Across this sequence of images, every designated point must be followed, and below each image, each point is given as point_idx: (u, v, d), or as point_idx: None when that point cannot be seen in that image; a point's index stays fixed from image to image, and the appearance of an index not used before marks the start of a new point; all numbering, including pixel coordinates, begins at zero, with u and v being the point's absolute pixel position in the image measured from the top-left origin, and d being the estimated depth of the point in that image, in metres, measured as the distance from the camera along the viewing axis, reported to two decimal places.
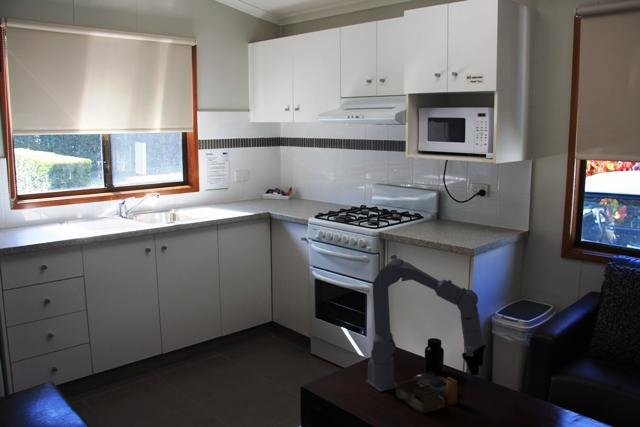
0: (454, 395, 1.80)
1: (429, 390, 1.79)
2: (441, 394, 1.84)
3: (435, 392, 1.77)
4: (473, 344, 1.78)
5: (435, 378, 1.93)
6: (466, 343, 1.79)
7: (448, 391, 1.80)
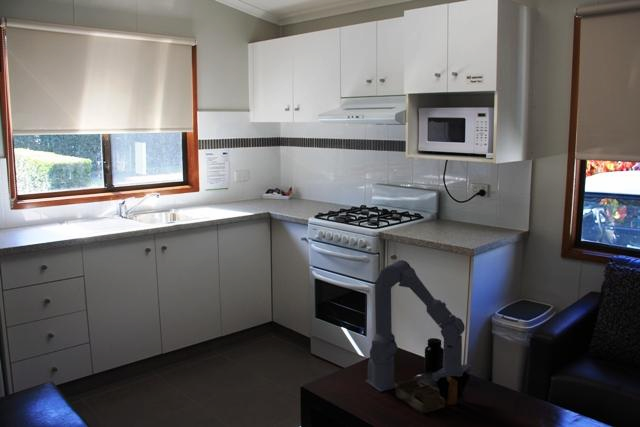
0: (454, 395, 1.80)
1: (429, 390, 1.79)
2: None
3: (435, 392, 1.77)
4: (446, 371, 1.79)
5: None
6: (443, 368, 1.81)
7: (448, 391, 1.80)
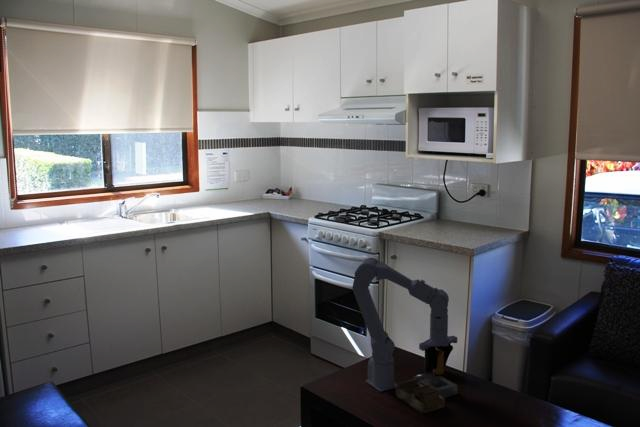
0: (440, 365, 1.86)
1: (429, 390, 1.79)
2: (441, 394, 1.84)
3: (435, 392, 1.77)
4: (433, 341, 1.85)
5: (435, 378, 1.93)
6: (430, 338, 1.87)
7: None
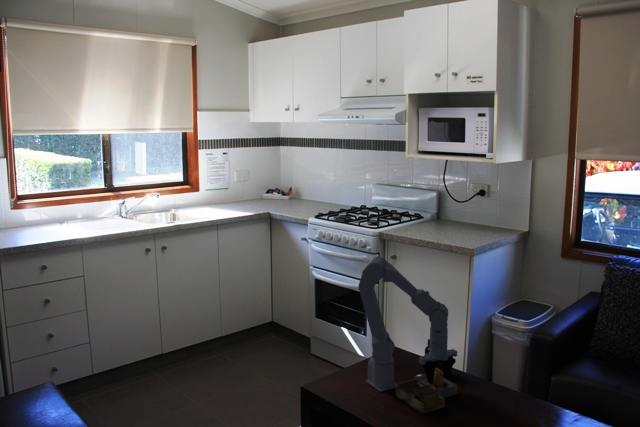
0: (440, 385, 1.87)
1: (429, 390, 1.79)
2: (441, 394, 1.84)
3: (435, 392, 1.77)
4: (432, 355, 1.86)
5: None
6: (429, 352, 1.88)
7: (434, 381, 1.88)
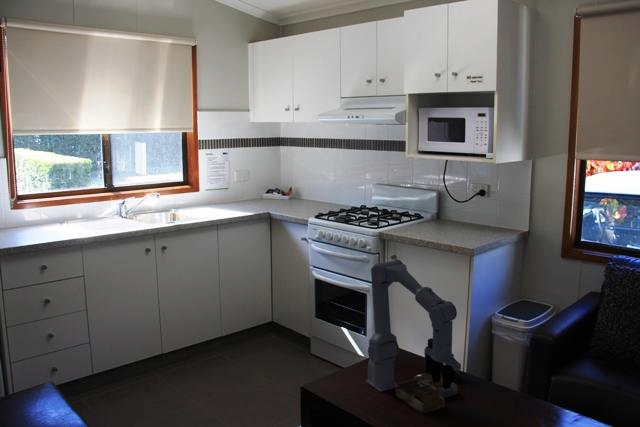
0: (440, 385, 1.87)
1: (429, 390, 1.79)
2: (441, 394, 1.84)
3: (435, 392, 1.77)
4: (449, 357, 1.69)
5: None
6: (442, 358, 1.68)
7: None
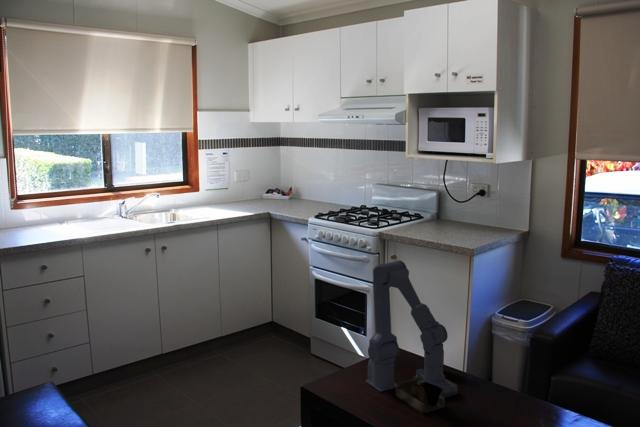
0: None
1: None
2: (441, 394, 1.84)
3: None
4: (440, 379, 1.73)
5: None
6: (433, 379, 1.73)
7: None
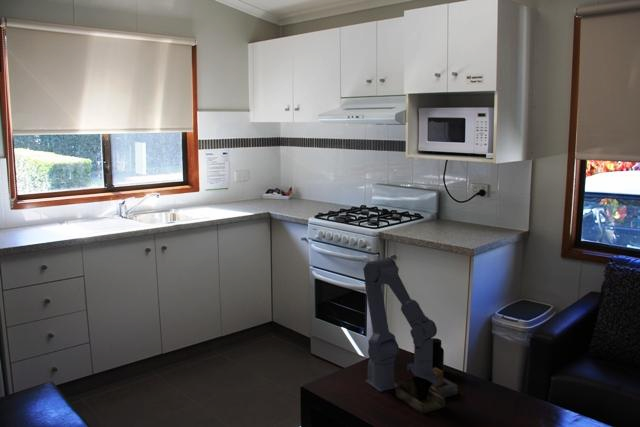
0: (440, 385, 1.87)
1: None
2: (441, 394, 1.84)
3: None
4: (430, 373, 1.78)
5: None
6: (423, 373, 1.77)
7: None
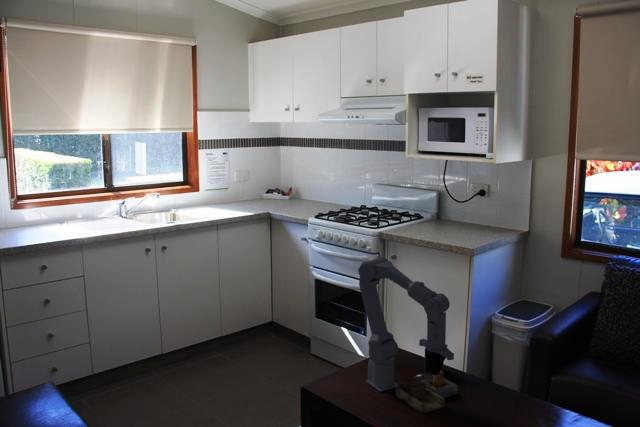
0: (440, 385, 1.87)
1: (416, 382, 1.85)
2: (441, 394, 1.84)
3: (422, 384, 1.83)
4: (443, 348, 1.77)
5: None
6: (436, 348, 1.76)
7: (434, 381, 1.88)
